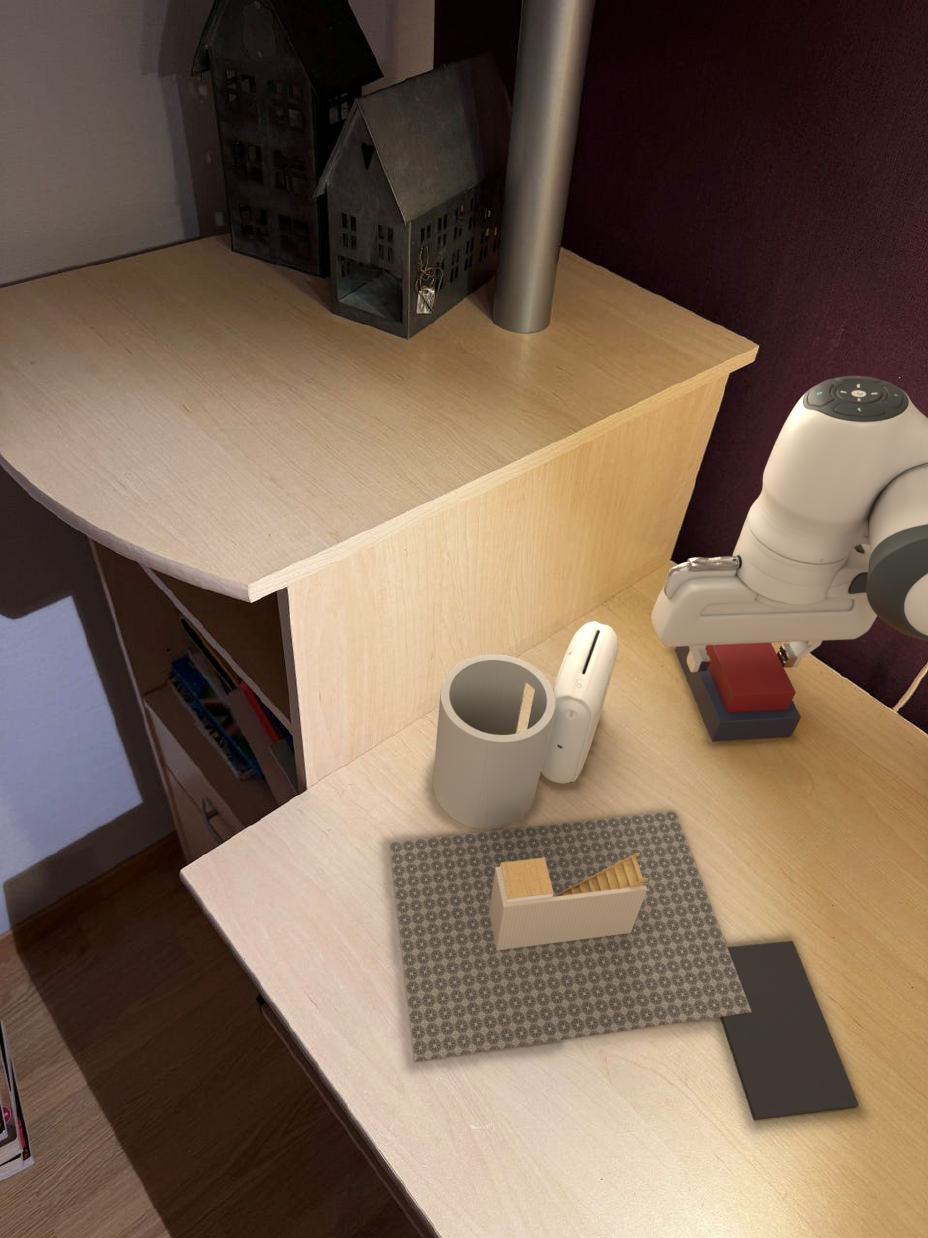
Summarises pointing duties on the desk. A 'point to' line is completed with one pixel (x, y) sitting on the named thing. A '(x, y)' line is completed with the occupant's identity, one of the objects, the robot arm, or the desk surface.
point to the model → (557, 935)
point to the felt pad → (783, 1038)
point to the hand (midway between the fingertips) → (741, 665)
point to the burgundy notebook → (749, 677)
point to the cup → (490, 740)
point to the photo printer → (579, 700)
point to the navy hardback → (734, 723)
